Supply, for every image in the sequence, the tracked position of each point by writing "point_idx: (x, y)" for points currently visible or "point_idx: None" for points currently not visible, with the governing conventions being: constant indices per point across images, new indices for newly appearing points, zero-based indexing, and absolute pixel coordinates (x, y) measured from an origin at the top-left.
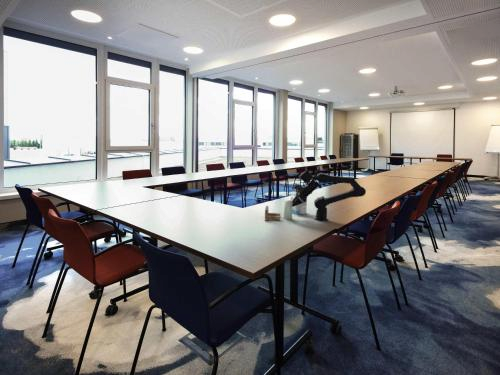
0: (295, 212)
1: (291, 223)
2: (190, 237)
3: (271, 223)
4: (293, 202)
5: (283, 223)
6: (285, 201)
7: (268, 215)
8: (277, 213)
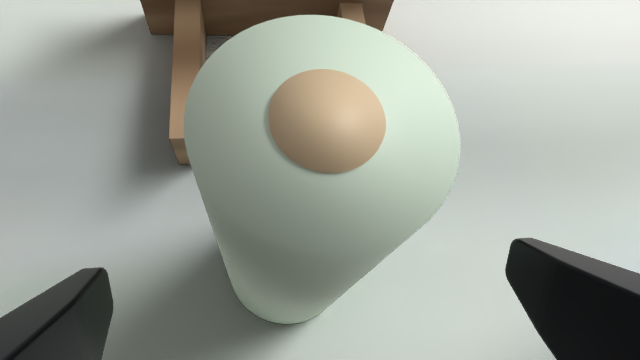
0: None
1: None
2: None
3: (21, 76)
4: (534, 301)
5: (13, 214)
6: (229, 44)
7: None
8: None
